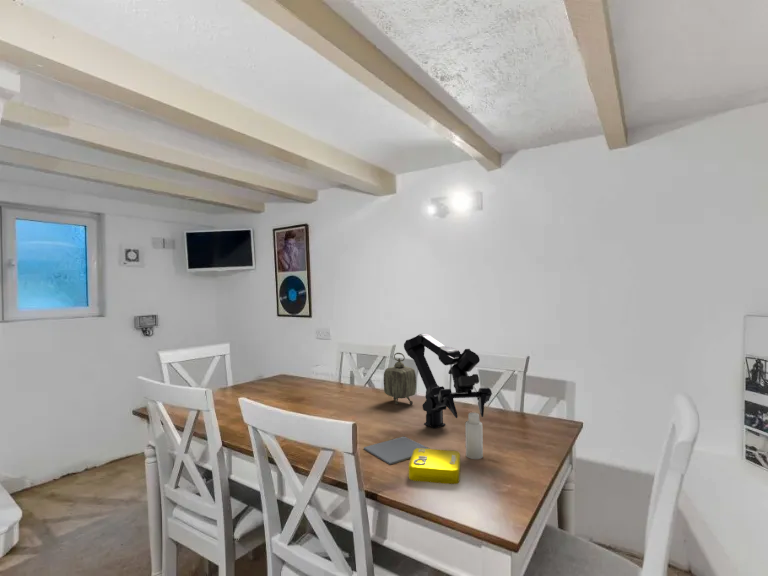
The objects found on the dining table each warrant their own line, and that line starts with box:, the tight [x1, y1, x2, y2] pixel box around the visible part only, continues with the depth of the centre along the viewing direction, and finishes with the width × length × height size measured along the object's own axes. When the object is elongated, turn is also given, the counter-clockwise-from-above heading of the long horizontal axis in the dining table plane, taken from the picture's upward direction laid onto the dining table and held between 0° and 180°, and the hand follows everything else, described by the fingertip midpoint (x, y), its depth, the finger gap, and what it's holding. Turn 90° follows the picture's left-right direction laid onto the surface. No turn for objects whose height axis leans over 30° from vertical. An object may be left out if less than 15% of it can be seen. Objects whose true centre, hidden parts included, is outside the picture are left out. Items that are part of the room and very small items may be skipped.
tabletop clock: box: [383, 352, 417, 405], centre depth 199 cm, size 14×9×25 cm, turn 46°
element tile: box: [407, 448, 461, 485], centre depth 125 cm, size 15×15×5 cm
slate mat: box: [363, 436, 431, 466], centre depth 141 cm, size 18×16×1 cm
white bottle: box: [464, 412, 484, 460], centre depth 136 cm, size 6×6×14 cm
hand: (469, 417), depth 141 cm, fingers open, 9 cm apart
